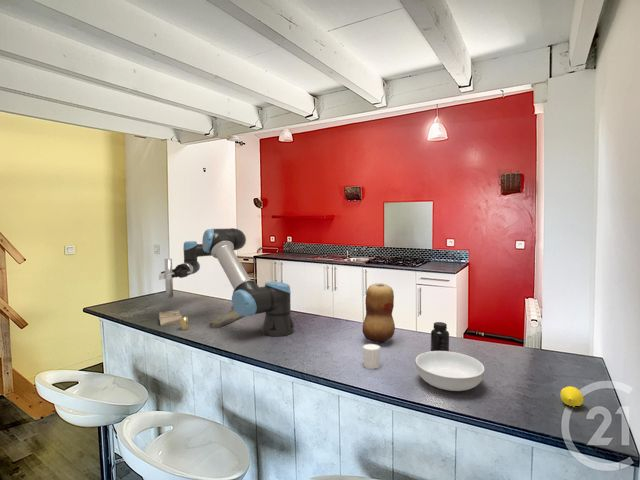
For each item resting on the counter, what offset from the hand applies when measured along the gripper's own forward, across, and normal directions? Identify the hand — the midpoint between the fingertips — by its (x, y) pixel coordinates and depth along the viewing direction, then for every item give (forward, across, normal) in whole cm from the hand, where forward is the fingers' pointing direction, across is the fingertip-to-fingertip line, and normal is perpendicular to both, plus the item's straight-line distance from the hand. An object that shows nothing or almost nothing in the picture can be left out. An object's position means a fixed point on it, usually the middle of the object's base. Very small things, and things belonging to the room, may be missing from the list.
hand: (163, 277), depth 183 cm
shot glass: (+48, -100, -24) cm, 113 cm away
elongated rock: (-11, -31, -25) cm, 41 cm away
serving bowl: (+61, -124, -24) cm, 140 cm away
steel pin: (-5, 0, -12) cm, 13 cm away
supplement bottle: (+35, -128, -24) cm, 134 cm away
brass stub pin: (+9, -14, -24) cm, 29 cm away
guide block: (-5, 0, -24) cm, 25 cm away
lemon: (+73, -154, -24) cm, 172 cm away
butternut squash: (+23, -105, -24) cm, 110 cm away
